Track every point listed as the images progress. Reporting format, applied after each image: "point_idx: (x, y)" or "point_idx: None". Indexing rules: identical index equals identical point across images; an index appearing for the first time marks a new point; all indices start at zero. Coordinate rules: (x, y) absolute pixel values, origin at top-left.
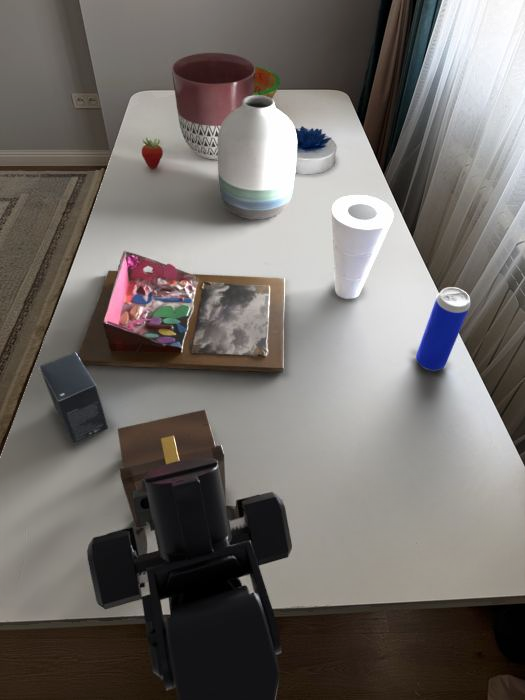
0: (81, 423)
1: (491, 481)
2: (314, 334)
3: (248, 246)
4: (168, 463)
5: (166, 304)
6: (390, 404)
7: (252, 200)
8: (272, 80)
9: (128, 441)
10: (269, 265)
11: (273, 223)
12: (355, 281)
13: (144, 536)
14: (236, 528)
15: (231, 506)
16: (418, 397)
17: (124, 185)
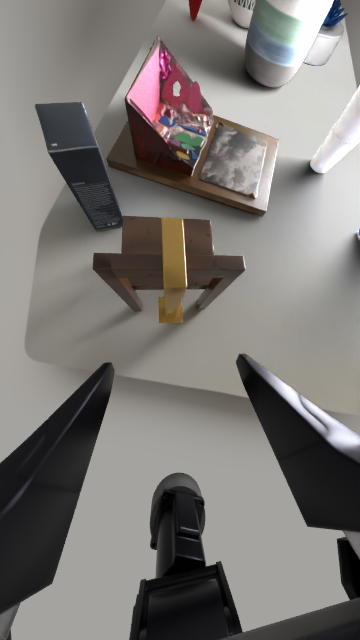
0: (96, 208)
1: None
2: (289, 193)
3: (254, 108)
4: (167, 262)
5: (186, 132)
6: (332, 262)
7: (278, 40)
8: None
9: (131, 231)
10: (266, 128)
11: (275, 95)
12: (346, 146)
13: (97, 399)
14: (288, 445)
15: (268, 374)
16: (351, 262)
17: (168, 26)
